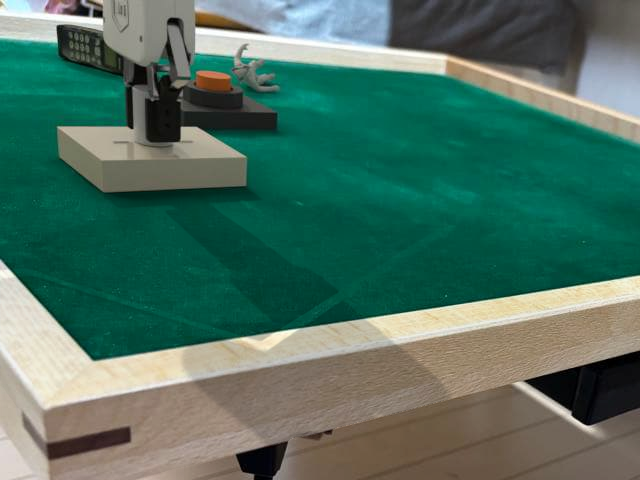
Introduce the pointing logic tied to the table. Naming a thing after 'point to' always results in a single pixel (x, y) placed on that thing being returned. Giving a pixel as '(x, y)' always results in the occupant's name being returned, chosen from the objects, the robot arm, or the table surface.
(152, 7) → the robot arm
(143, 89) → the grey cylinder
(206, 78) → the button
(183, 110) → the button box
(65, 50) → the mobile phone
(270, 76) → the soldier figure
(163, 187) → the plate
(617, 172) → the table surface
